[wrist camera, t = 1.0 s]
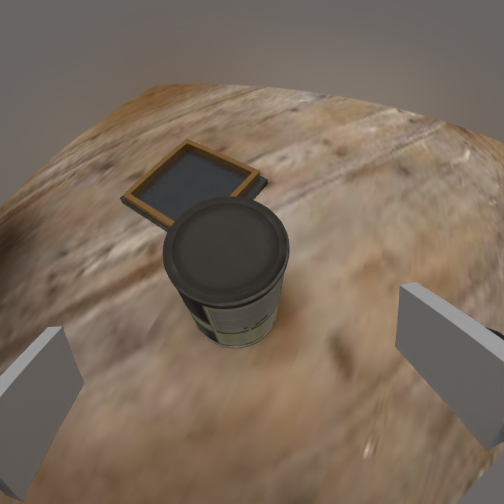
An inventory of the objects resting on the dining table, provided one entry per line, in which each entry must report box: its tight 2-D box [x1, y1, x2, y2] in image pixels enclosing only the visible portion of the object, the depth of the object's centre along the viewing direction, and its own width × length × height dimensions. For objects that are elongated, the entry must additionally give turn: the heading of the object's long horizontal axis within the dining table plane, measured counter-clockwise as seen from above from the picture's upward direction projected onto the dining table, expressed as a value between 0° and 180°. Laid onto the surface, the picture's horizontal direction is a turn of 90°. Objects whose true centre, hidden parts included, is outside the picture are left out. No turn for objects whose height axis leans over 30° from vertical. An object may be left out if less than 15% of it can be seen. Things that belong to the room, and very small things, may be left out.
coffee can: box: [163, 196, 289, 348], centre depth 32 cm, size 10×10×14 cm
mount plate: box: [120, 139, 267, 232], centre depth 46 cm, size 17×15×2 cm
